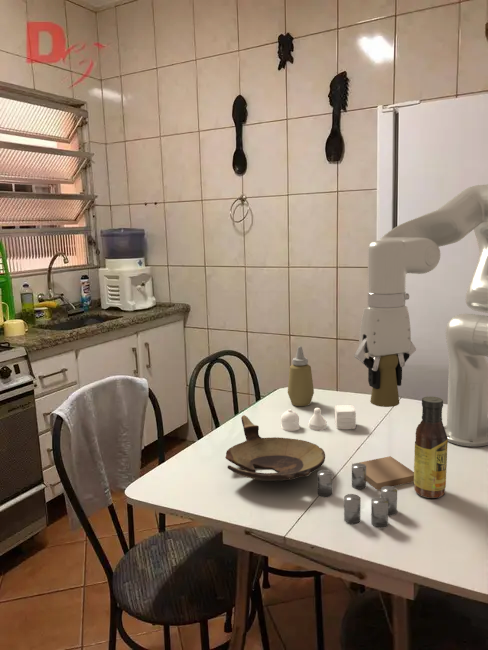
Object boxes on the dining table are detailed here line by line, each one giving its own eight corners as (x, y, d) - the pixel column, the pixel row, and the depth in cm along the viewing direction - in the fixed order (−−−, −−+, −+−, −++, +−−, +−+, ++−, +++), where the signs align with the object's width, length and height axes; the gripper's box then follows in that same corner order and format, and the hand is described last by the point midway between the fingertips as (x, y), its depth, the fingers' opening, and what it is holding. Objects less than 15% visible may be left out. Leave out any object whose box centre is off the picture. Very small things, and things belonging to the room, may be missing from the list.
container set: (352, 423, 150) (352, 404, 149) (355, 430, 145) (355, 411, 144) (280, 424, 151) (280, 406, 150) (280, 431, 146) (280, 412, 145)
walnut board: (390, 462, 125) (390, 456, 125) (417, 481, 116) (417, 474, 116) (352, 470, 122) (352, 463, 122) (377, 490, 113) (377, 483, 113)
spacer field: (361, 481, 117) (361, 462, 116) (409, 521, 101) (410, 499, 100) (315, 491, 113) (315, 471, 112) (357, 534, 97) (357, 511, 97)
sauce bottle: (441, 502, 107) (445, 407, 103) (409, 495, 110) (411, 402, 106) (448, 488, 112) (452, 397, 109) (418, 481, 116) (420, 392, 112)
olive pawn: (400, 407, 112) (401, 355, 110) (370, 406, 114) (371, 355, 111) (398, 398, 118) (399, 349, 116) (369, 397, 119) (370, 348, 117)
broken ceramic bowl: (225, 503, 110) (223, 468, 109) (226, 443, 140) (225, 415, 138) (334, 498, 110) (334, 463, 109) (313, 440, 140) (312, 411, 138)
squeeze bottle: (286, 407, 164) (285, 350, 160) (288, 399, 172) (287, 343, 168) (313, 408, 163) (312, 350, 159) (314, 399, 170) (313, 343, 167)
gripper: (409, 295, 118) (408, 376, 121) (340, 301, 113) (341, 386, 116) (432, 299, 111) (429, 385, 114) (359, 306, 106) (359, 396, 109)
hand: (385, 384), depth 115 cm, fingers closed on olive pawn, 4 cm apart
